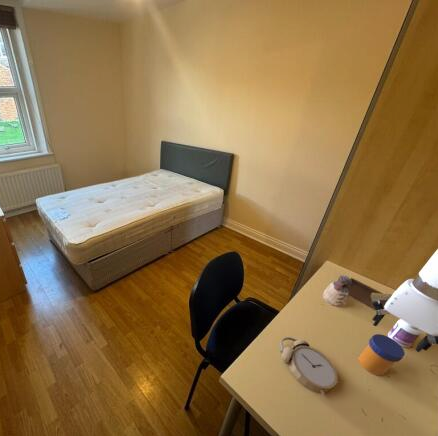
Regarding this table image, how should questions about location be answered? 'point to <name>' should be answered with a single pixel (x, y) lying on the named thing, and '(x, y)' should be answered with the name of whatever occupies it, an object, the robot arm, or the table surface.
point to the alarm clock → (309, 366)
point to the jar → (374, 362)
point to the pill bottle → (404, 333)
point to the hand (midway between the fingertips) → (396, 334)
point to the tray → (363, 293)
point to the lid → (386, 348)
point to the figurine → (338, 291)
